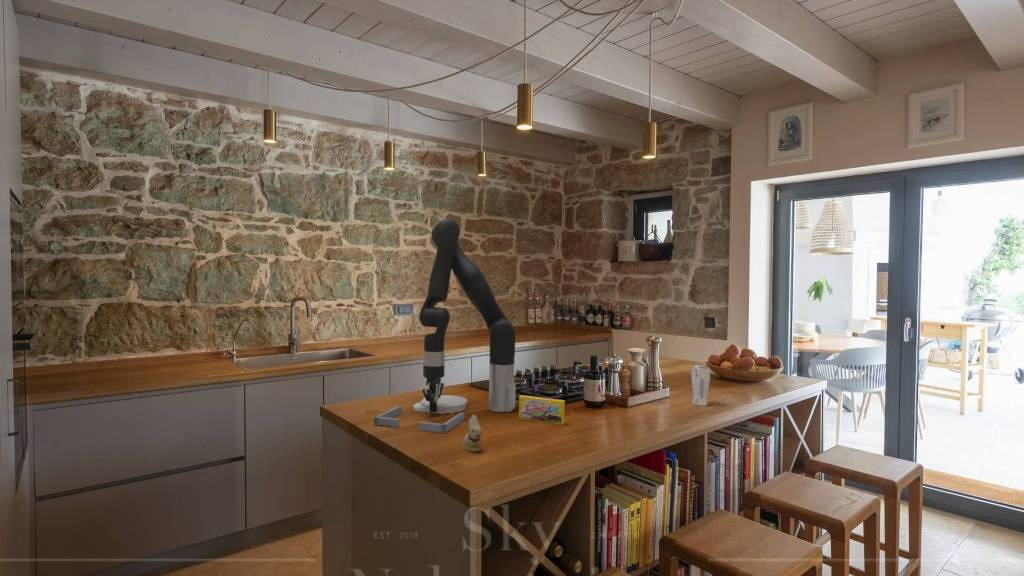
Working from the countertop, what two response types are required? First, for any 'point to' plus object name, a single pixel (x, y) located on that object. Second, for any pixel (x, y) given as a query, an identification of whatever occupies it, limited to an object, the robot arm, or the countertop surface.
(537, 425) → the countertop surface
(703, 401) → the beer glass
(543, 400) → the candy box
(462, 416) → the lid holder
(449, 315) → the robot arm
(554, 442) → the countertop surface
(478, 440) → the chocolate bunny
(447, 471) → the countertop surface
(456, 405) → the lid
